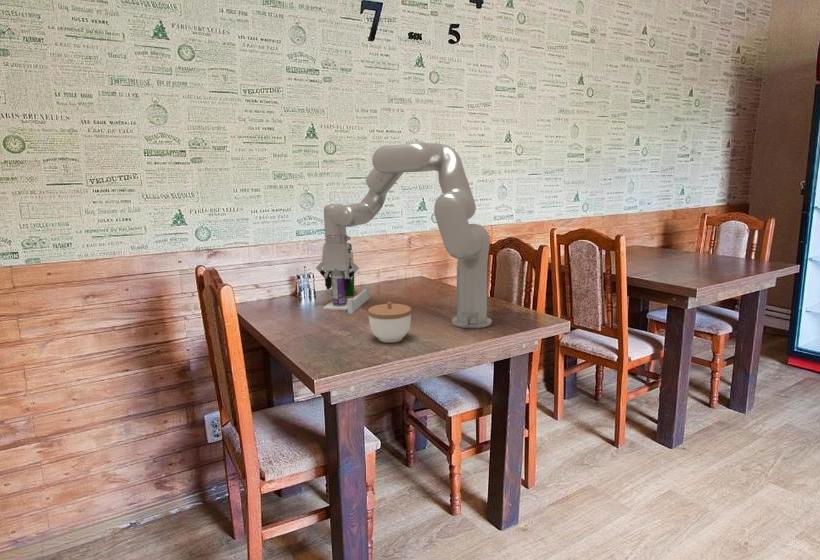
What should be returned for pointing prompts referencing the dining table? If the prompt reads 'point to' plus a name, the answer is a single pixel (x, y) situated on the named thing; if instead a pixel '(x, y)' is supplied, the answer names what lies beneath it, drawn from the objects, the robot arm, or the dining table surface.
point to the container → (338, 288)
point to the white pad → (335, 307)
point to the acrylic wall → (358, 300)
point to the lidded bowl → (389, 321)
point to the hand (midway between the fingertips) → (338, 288)
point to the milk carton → (351, 291)
